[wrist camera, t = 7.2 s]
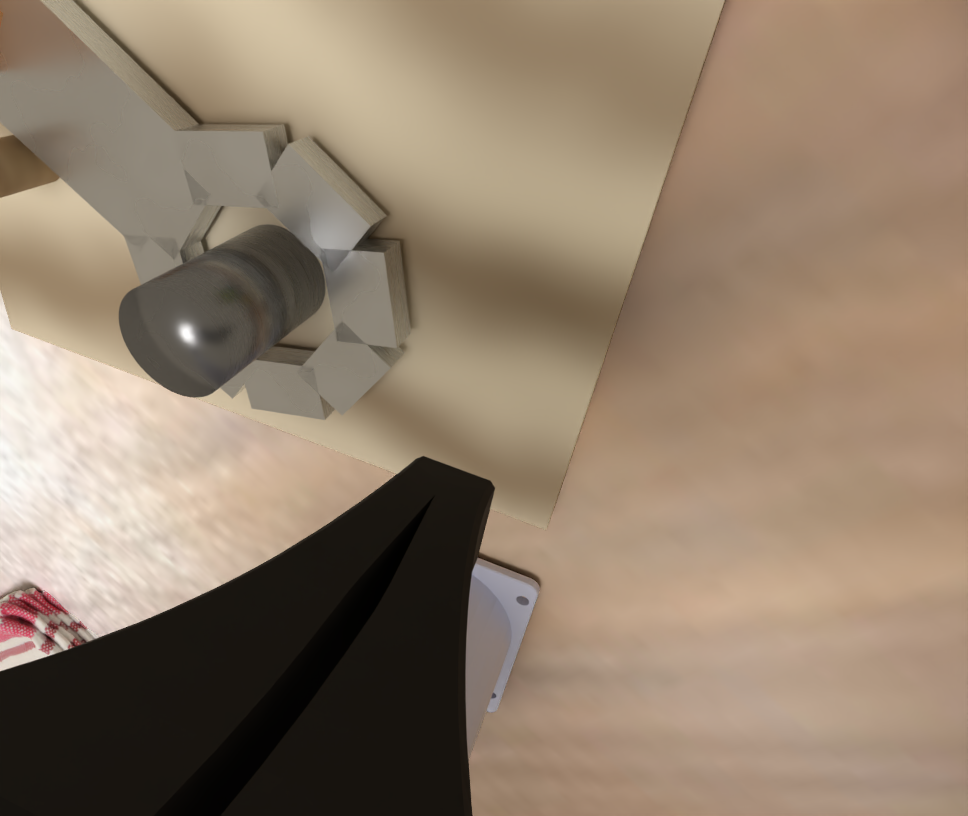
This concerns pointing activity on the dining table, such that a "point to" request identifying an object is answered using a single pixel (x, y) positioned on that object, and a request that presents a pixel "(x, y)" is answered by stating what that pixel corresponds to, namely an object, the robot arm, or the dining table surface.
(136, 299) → the post
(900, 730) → the dining table surface
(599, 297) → the board
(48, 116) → the crank
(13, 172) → the dowel
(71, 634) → the dish towel
